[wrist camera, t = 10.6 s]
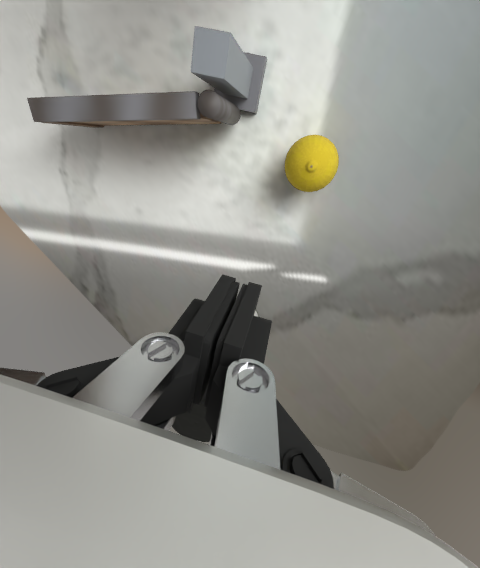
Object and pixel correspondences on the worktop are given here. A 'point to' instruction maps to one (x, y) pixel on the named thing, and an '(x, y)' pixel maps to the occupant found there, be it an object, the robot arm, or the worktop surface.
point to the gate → (135, 109)
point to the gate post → (228, 68)
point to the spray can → (195, 421)
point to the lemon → (311, 163)
